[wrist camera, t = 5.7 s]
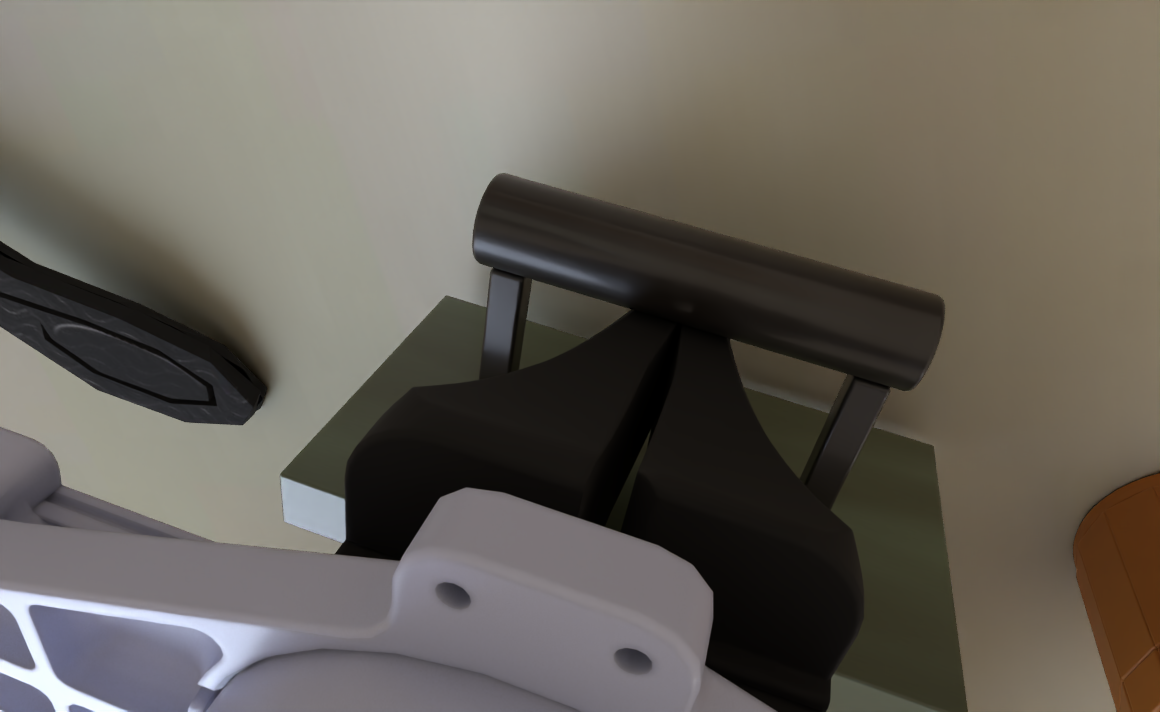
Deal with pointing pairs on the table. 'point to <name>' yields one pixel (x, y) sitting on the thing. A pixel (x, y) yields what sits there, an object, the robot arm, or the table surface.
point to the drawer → (800, 434)
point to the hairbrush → (124, 346)
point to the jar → (1124, 590)
